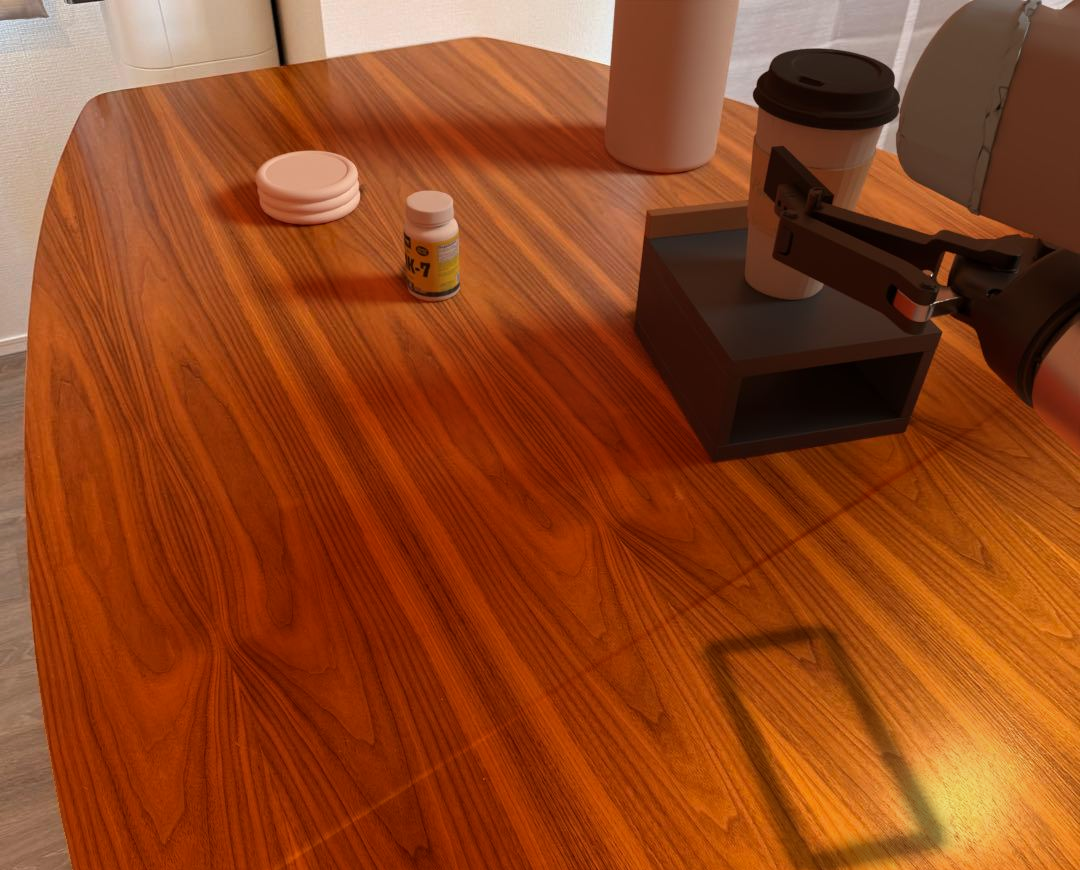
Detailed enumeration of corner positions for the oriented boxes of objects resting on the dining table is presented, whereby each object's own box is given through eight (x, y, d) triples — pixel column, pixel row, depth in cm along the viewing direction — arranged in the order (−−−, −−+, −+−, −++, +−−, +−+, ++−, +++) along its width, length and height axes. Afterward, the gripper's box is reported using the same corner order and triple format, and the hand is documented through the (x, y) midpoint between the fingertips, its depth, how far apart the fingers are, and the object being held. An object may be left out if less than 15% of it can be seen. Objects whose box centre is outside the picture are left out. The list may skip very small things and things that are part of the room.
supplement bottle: (396, 287, 88) (389, 198, 82) (436, 270, 90) (432, 182, 84) (431, 309, 85) (425, 219, 79) (471, 290, 88) (469, 201, 82)
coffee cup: (714, 301, 70) (751, 87, 60) (728, 240, 77) (764, 37, 66) (847, 321, 69) (909, 105, 58) (850, 257, 75) (906, 52, 65)
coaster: (245, 220, 96) (238, 186, 93) (282, 177, 103) (276, 144, 100) (342, 232, 95) (338, 197, 92) (373, 187, 102) (370, 153, 99)
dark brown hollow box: (905, 432, 75) (952, 306, 67) (712, 463, 72) (737, 335, 64) (802, 308, 87) (831, 190, 79) (633, 330, 84) (646, 209, 76)
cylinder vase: (629, 120, 116) (652, -131, 98) (729, 142, 112) (772, -114, 94) (586, 160, 108) (602, -106, 90) (692, 185, 104) (731, -87, 86)
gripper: (836, 454, 45) (676, 236, 60) (1275, 383, 50) (1029, 197, 64) (879, 314, 40) (692, 112, 54) (1366, 249, 45) (1076, 80, 59)
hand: (875, 158), depth 59 cm, fingers open, 13 cm apart
